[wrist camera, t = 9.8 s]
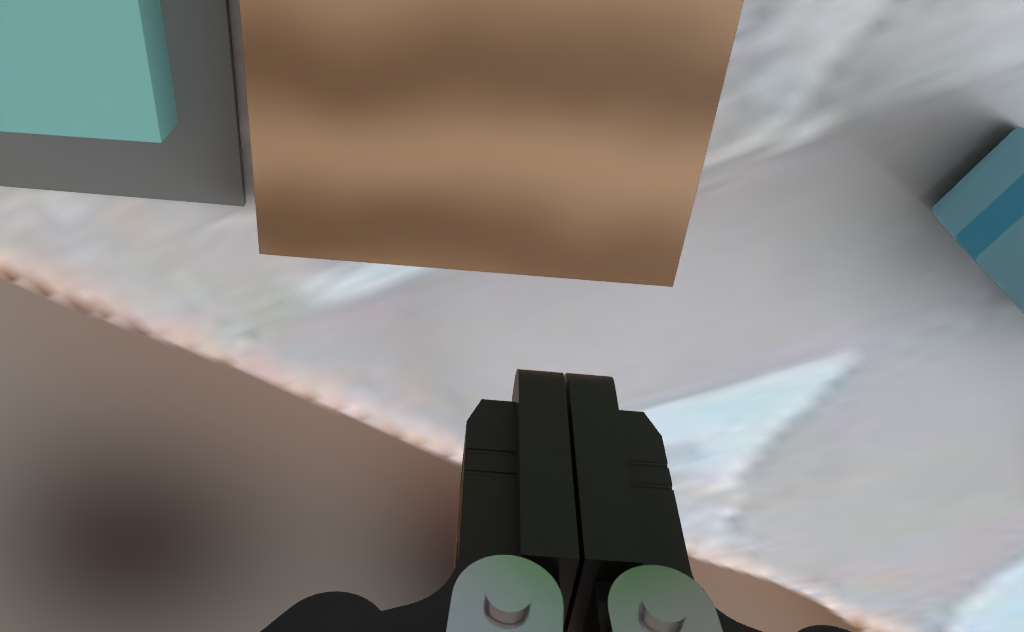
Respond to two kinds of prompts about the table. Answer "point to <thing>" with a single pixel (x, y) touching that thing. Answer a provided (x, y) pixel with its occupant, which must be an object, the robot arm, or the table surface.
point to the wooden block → (484, 131)
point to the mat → (149, 165)
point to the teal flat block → (85, 69)
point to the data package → (992, 214)
